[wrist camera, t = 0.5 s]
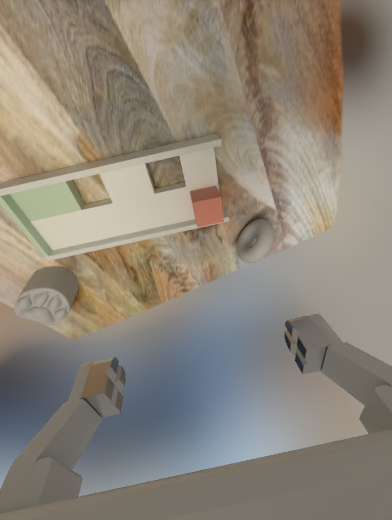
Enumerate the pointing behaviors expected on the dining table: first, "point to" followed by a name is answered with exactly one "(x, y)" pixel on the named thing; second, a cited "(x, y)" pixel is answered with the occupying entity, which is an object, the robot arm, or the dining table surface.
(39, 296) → the lumpy-topped squat cylinder
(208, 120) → the dining table surface
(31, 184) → the tray
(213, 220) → the block
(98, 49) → the dining table surface
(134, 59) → the dining table surface
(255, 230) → the donut
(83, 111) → the dining table surface
